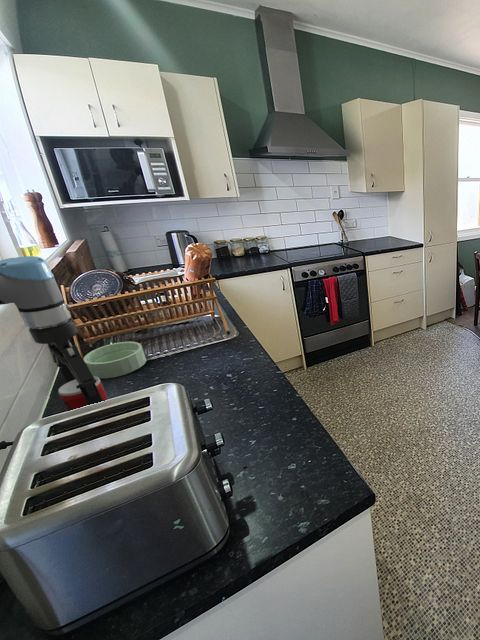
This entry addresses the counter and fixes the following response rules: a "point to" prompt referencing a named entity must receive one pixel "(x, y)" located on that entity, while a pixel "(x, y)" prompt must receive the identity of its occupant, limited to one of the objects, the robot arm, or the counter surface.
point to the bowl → (115, 359)
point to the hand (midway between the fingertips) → (86, 395)
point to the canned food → (78, 394)
